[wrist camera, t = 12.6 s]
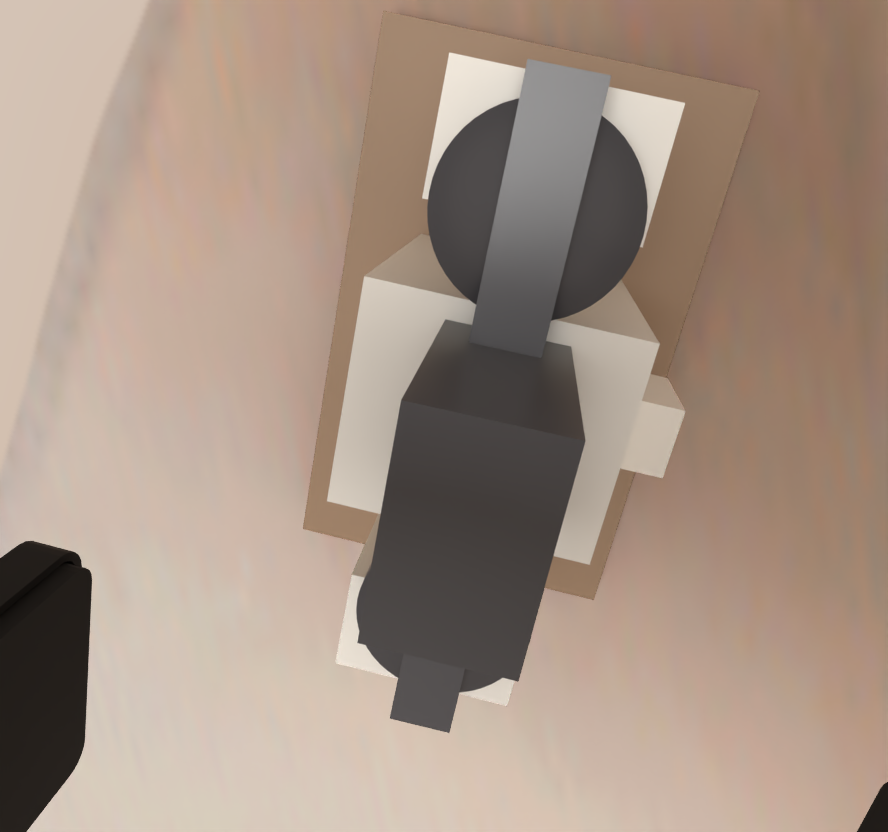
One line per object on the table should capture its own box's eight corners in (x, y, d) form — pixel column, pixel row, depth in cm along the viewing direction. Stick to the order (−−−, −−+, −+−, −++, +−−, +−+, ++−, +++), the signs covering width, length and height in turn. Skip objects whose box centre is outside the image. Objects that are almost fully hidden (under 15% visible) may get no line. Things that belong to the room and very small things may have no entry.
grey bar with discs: (676, 96, 16) (752, 68, 10) (507, 703, 21) (495, 905, 16) (458, 52, 16) (412, 1, 10) (348, 665, 21) (281, 851, 16)
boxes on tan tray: (747, 94, 25) (884, 59, 15) (591, 579, 31) (614, 776, 22) (391, 18, 25) (297, -64, 15) (313, 512, 32) (212, 674, 22)
